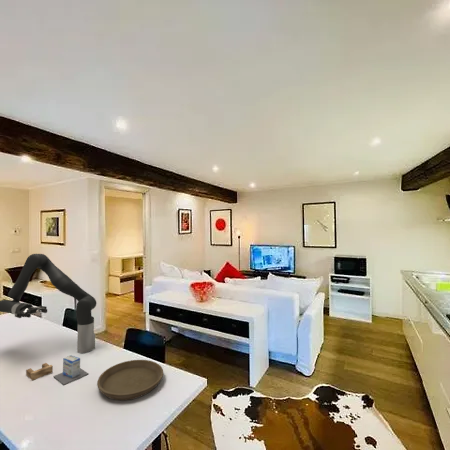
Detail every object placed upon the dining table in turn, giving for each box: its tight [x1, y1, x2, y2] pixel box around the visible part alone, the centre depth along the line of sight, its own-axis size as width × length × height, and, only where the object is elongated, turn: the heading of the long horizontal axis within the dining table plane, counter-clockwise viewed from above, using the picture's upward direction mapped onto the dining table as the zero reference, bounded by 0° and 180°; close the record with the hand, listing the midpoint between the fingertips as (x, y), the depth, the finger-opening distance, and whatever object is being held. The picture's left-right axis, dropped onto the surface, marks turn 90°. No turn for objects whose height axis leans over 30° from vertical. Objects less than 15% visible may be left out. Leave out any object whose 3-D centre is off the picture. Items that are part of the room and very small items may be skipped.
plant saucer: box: [96, 359, 164, 401], centre depth 130 cm, size 31×31×5 cm
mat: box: [53, 367, 89, 386], centre depth 136 cm, size 12×12×1 cm
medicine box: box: [62, 354, 81, 378], centre depth 136 cm, size 8×4×9 cm, turn 65°
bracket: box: [25, 362, 54, 381], centre depth 138 cm, size 9×9×4 cm
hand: (38, 313), depth 146 cm, fingers open, 8 cm apart
